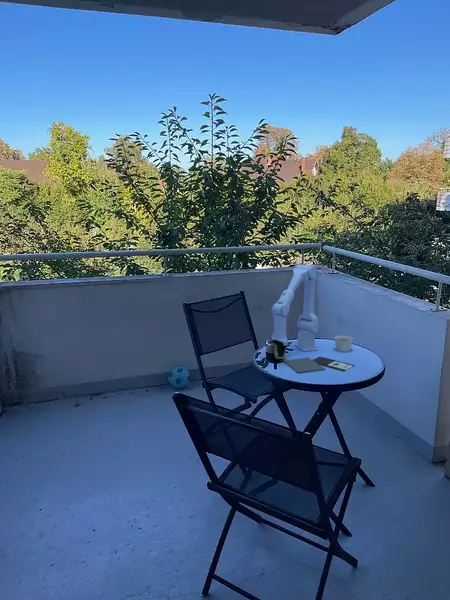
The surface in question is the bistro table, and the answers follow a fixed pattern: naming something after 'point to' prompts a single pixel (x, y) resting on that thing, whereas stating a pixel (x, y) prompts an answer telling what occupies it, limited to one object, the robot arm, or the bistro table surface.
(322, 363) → the chocolate bar
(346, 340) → the candle
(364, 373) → the bistro table surface
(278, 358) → the ash tile
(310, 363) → the rubber mat
